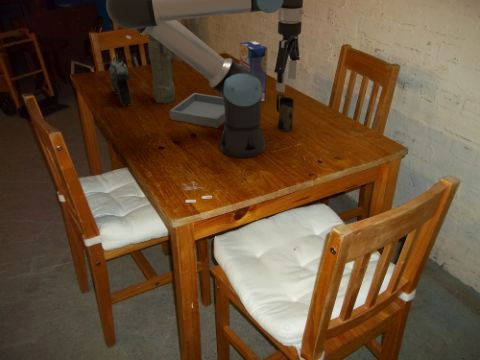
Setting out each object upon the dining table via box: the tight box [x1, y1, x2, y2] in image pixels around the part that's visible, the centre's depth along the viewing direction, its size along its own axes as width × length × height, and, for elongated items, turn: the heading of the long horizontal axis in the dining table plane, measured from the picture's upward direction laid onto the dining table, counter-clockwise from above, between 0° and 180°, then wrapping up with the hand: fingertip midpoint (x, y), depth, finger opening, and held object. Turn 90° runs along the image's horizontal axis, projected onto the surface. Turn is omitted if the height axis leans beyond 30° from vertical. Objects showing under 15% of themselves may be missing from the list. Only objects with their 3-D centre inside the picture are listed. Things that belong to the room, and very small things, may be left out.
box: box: [169, 92, 225, 129], centre depth 163 cm, size 20×20×4 cm
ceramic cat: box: [108, 52, 132, 106], centre depth 170 cm, size 20×6×20 cm, turn 25°
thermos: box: [147, 34, 176, 105], centre depth 166 cm, size 9×12×35 cm
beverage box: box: [239, 40, 268, 102], centre depth 172 cm, size 7×11×22 cm, turn 26°
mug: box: [275, 93, 295, 133], centre depth 150 cm, size 8×6×12 cm
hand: (286, 84), depth 144 cm, fingers open, 13 cm apart
